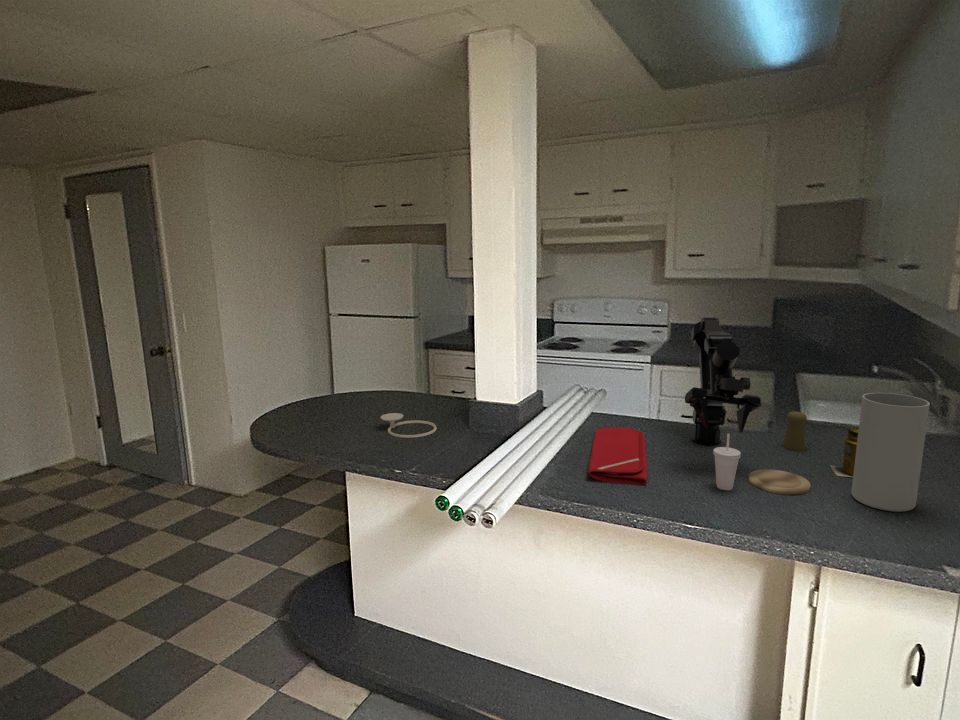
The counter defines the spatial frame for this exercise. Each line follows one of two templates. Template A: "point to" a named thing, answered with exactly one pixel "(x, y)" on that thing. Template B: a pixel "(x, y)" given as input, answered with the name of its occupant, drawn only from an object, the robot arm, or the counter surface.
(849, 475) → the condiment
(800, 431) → the cork
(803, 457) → the counter surface
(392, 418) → the hand towel holder
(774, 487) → the plate
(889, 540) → the counter surface
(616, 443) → the dish drying mat
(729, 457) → the smoothie
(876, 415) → the cylinder vase
